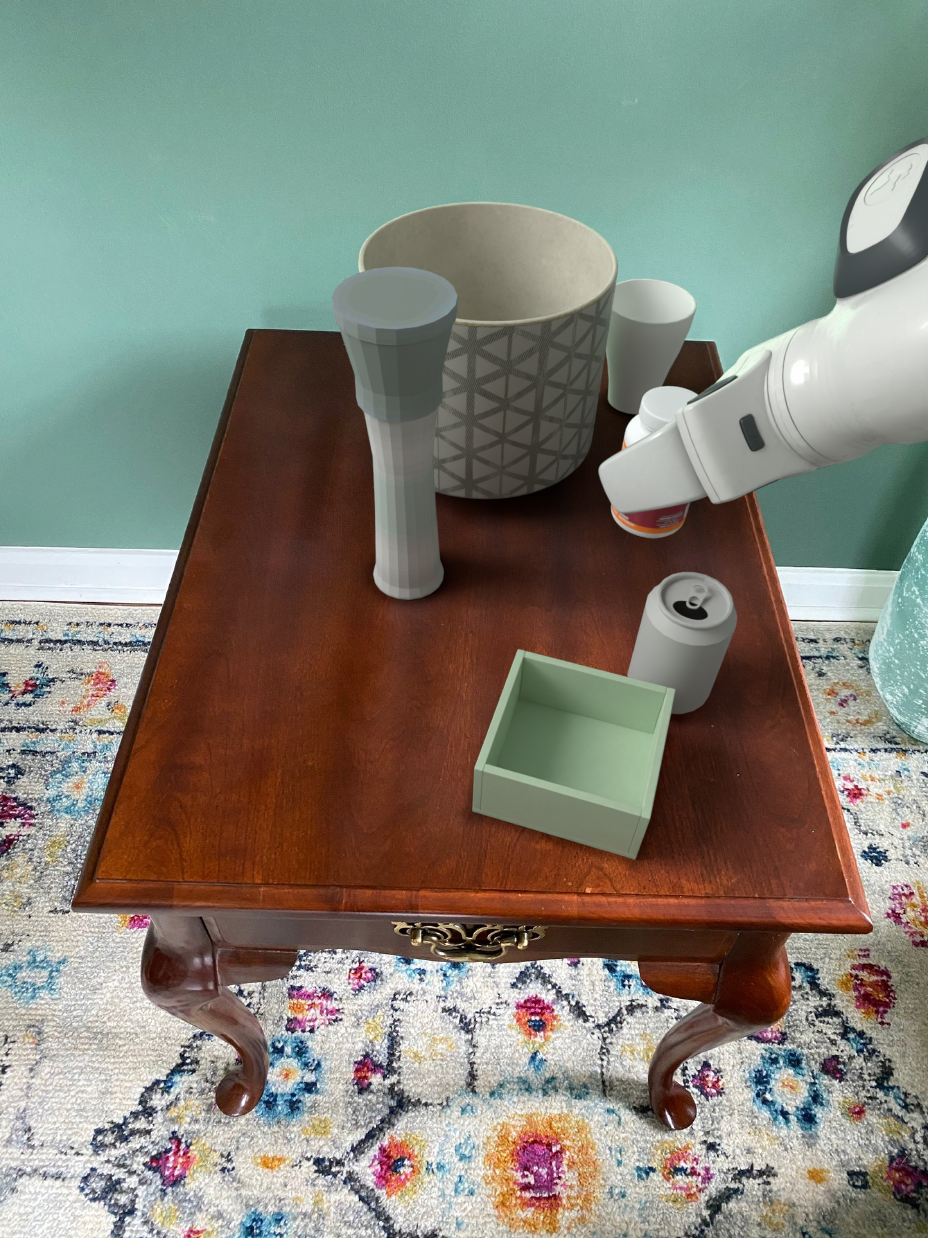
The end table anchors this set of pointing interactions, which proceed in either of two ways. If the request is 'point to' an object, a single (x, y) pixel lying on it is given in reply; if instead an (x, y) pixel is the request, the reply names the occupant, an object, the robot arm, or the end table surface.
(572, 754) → the bin
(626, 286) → the cup
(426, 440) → the grey tall flared cylinder
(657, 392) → the pill bottle
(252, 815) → the end table surface
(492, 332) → the planter
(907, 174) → the robot arm
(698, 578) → the can
